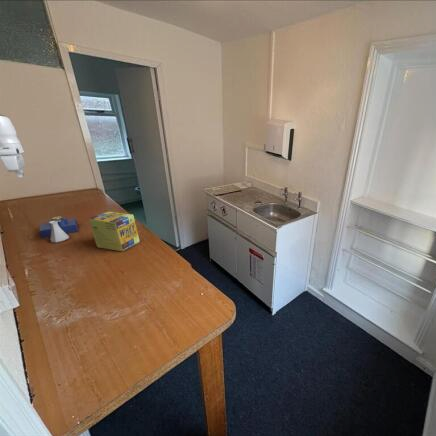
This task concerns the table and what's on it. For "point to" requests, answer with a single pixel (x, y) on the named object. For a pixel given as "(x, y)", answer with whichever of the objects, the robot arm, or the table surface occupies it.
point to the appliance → (64, 224)
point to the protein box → (114, 231)
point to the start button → (57, 218)
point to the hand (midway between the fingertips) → (21, 177)
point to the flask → (57, 232)
